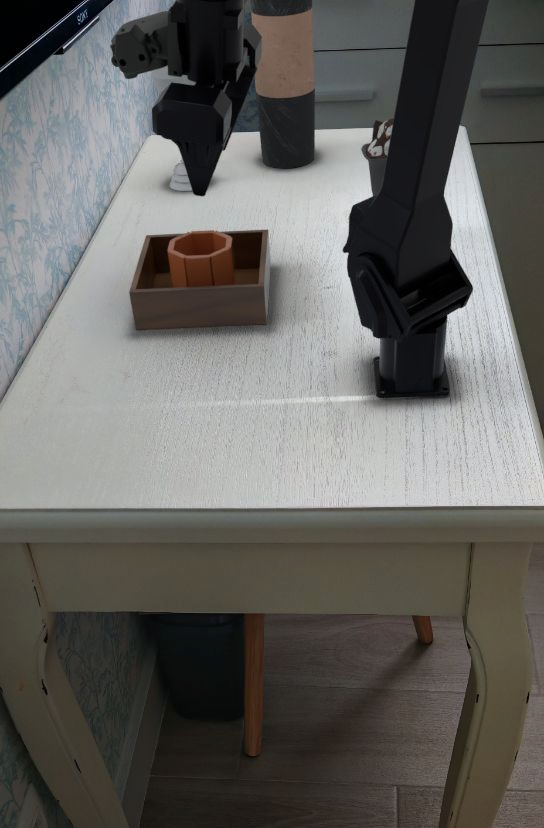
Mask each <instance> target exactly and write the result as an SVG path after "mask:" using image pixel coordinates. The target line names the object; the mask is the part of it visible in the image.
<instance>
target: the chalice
mask: <svg viewBox="0 0 544 828" xmlns="http://www.w3.org/2000/svg"><path fill="white" fill-rule="evenodd" d="M149 72H150V76H151V78H152V80H153V83H154V85H155V87H156V90H157V91H158V93H159V95H160V94H161V92H162V91H163V90H164V89H165V88H166V87H167V86H168V85H169V84H170V83H171V82H173V83H181V84H188V85H195V84H196V82H193V81H190V80H188V79H187V75H182V77H177V76H170V75H168V66H166V67H163V68H160V69H156V70H153V71H149ZM169 187H170V189H173V190H175V191H179V192H190V191H192V188H191V185H190V181H189V178H188V175H187V172H186V168H185V165H184V162H183V159H182V158H181V159H180V161H179V163H177V164H175V166H174V167H173V169H172V175H171V180H170V183H169Z"/></svg>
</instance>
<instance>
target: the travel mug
mask: <svg viewBox="0 0 544 828" xmlns="http://www.w3.org/2000/svg"><path fill="white" fill-rule="evenodd" d="M250 13H251V25H253V26H254V27H255V28H256V29H257V31H258V32H259V33H260V35H261V36H262V50H261V59H260V61H259V64H258V66H257V67H258V69H257V72H256V74H255V77H254V84H255V97H256V108H257V118H258V119H257V120H258V129H259V140H260V141H259V142H260V152H261V160H262V162H263V164H265V165H266V166H268V167H270V168H276V169H294V168H295V169H296V168H300V167H304V166H306V165H308V164H310V163H312V162H313V161H314V159H315V154H316V153H315V150H316V147H315V146H316V143H315V142H316V141H315V140H316V139H315V138H316V130H315V129H316V77H315V49H314V48H315V47H314V21H313V17H314V15H313V0H250Z"/></svg>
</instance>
